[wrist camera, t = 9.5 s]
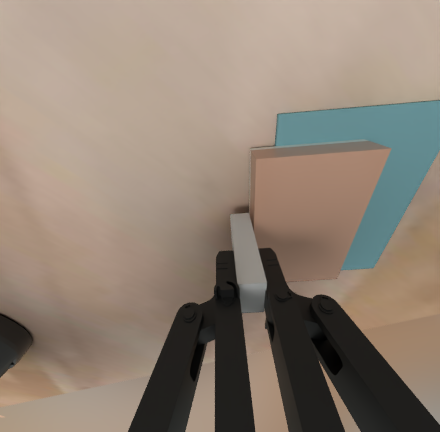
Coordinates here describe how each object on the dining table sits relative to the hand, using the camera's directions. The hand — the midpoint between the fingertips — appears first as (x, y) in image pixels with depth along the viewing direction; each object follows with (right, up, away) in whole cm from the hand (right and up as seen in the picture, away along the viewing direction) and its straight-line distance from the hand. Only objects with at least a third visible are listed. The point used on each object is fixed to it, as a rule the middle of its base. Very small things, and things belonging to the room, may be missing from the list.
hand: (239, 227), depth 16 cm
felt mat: (+9, +1, +1) cm, 9 cm away
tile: (+1, 0, 0) cm, 1 cm away
